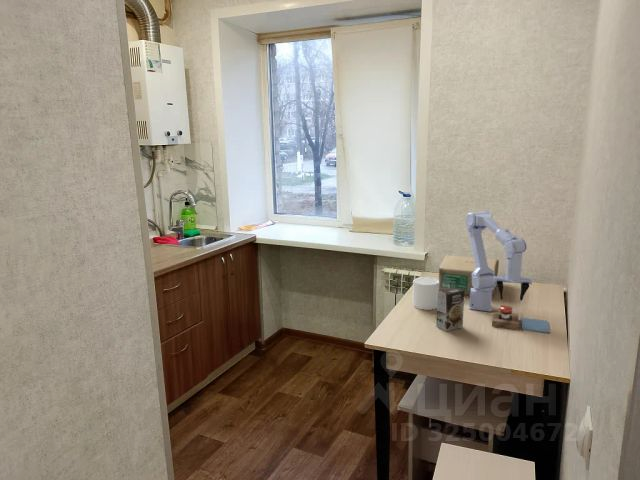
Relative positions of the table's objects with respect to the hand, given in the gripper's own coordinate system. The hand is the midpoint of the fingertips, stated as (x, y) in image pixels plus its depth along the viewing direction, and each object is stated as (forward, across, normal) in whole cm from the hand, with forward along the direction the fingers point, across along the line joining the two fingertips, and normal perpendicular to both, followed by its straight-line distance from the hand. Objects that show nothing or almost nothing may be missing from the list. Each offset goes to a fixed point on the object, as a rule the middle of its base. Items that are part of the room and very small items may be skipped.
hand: (511, 299), depth 192 cm
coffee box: (+11, -24, -10) cm, 28 cm away
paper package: (+11, -15, +41) cm, 45 cm away
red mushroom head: (+10, -2, -1) cm, 11 cm away
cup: (+11, -35, +12) cm, 39 cm away
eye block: (+10, -2, -1) cm, 11 cm away
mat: (+10, +10, -1) cm, 14 cm away
